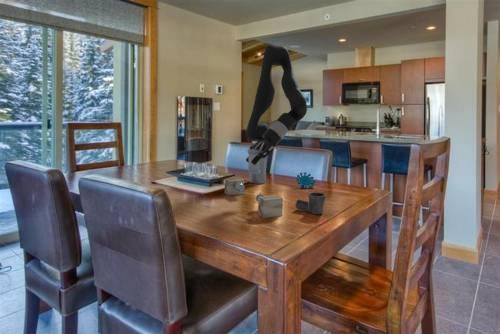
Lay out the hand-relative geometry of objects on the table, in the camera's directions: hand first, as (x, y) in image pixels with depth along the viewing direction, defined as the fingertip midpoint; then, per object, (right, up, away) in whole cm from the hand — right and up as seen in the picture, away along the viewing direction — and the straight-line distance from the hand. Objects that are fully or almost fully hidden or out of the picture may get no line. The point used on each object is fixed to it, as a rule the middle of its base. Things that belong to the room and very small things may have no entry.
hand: (250, 162), depth 151 cm
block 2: (+8, -21, -14) cm, 26 cm away
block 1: (-8, -15, +20) cm, 26 cm away
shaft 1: (-5, -13, +15) cm, 20 cm away
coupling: (+2, -4, +2) cm, 5 cm away
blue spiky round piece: (+30, -13, +36) cm, 48 cm away
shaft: (+5, -17, -9) cm, 20 cm away
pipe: (+24, -20, -10) cm, 33 cm away
